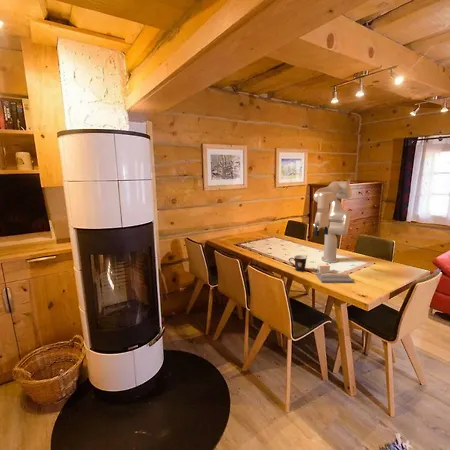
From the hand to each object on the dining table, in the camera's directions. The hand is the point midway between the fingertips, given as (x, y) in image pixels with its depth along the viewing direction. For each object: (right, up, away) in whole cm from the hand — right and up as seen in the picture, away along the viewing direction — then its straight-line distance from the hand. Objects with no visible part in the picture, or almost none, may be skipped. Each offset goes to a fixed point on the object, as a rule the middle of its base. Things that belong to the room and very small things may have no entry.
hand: (321, 235), depth 190 cm
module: (+4, -27, +6) cm, 27 cm away
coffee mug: (-13, -26, +11) cm, 31 cm away
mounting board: (+6, -29, -8) cm, 31 cm away
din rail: (+6, -28, -8) cm, 29 cm away
